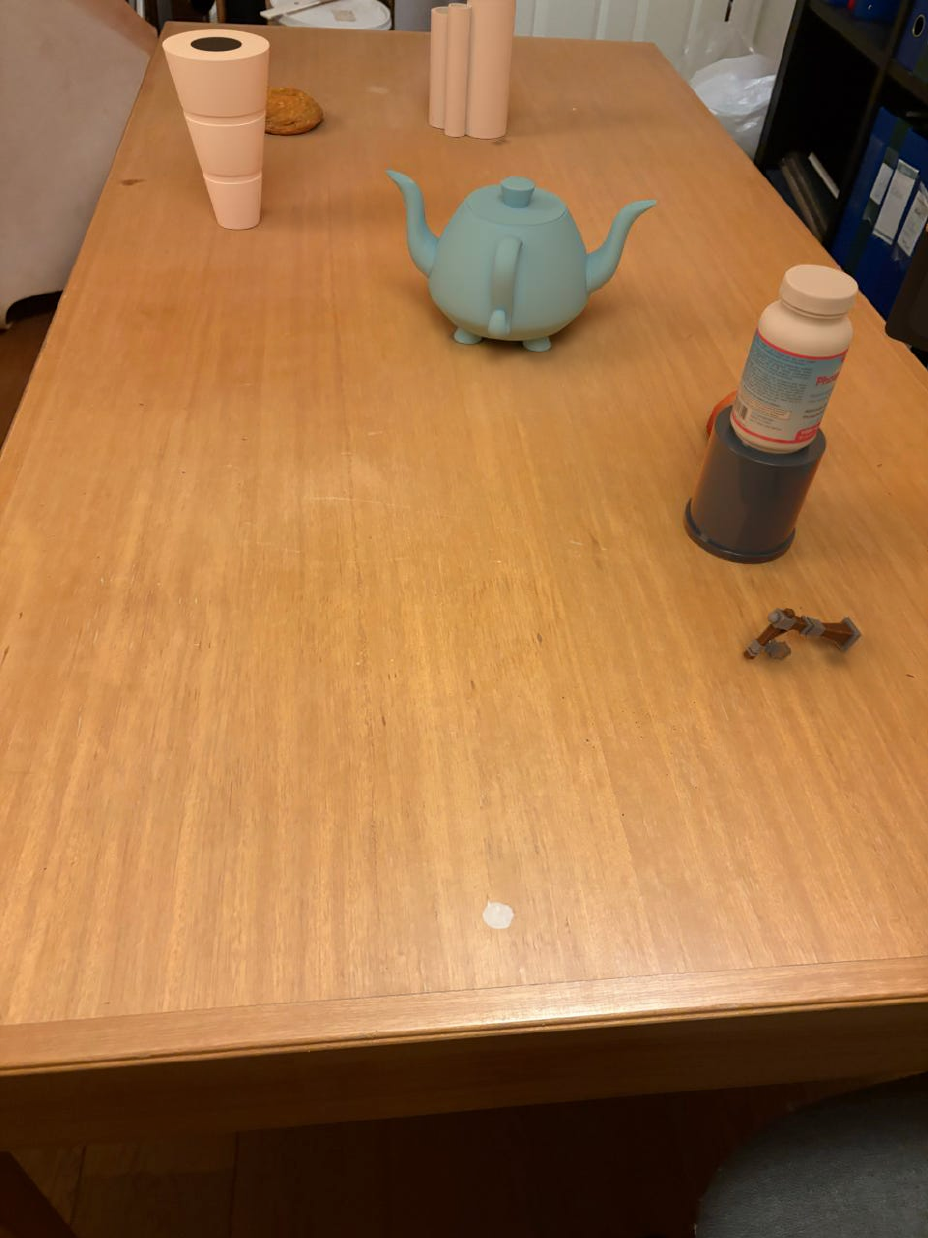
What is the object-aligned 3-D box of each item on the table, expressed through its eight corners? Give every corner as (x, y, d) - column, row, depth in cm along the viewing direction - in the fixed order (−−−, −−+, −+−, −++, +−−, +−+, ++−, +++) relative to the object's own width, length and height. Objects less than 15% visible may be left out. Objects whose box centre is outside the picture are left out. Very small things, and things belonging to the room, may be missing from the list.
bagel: (336, 130, 129) (334, 93, 126) (261, 141, 125) (257, 102, 122) (307, 107, 135) (304, 71, 131) (235, 117, 131) (230, 80, 127)
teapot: (385, 308, 95) (383, 165, 85) (539, 269, 103) (554, 134, 93) (471, 385, 86) (481, 235, 76) (633, 336, 94) (661, 194, 84)
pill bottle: (810, 462, 64) (870, 311, 56) (722, 442, 65) (768, 291, 57) (816, 416, 68) (873, 269, 60) (734, 398, 69) (777, 251, 61)
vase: (508, 124, 134) (522, -43, 120) (502, 142, 129) (516, -30, 115) (431, 116, 135) (435, -51, 121) (422, 133, 130) (425, -39, 116)
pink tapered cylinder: (269, 245, 104) (250, 64, 91) (177, 234, 104) (145, 53, 91) (296, 207, 111) (282, 34, 98) (210, 197, 112) (185, 24, 99)
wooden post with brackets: (729, 645, 63) (770, 597, 61) (808, 658, 67) (850, 614, 65) (742, 664, 62) (784, 617, 60) (821, 676, 66) (864, 632, 63)
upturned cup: (811, 526, 74) (852, 428, 67) (760, 580, 69) (798, 481, 63) (717, 479, 78) (746, 382, 71) (662, 528, 73) (688, 429, 66)
